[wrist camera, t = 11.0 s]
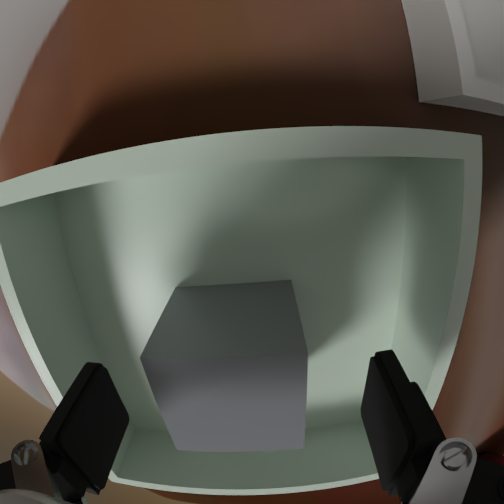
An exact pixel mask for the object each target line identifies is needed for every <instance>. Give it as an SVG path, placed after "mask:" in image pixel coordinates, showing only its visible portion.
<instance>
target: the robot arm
mask: <svg viewBox="0 0 504 504" xmlns="http://www.w3.org/2000/svg"><path fill="white" fill-rule="evenodd" d="M361 417H362V421H363V424H364V427H365V431H366V434H367V437H368V441H369V444H370V447H371V451H372V454H373V458H374V461H375V465H376V468H377V472H378V476H379V479H380V483H381V487H382V489H383V490H384V491H385V490H388V494H389V497H390V496H393V495H397V494H398V496H399V499H400V501H402V503H401V504H504V466H503V465H499V464H496V463H493V462H489V461H486V460H483V459H480V458H477V454H476V449H475V448H474V446H473V445H472V444H471V443H470V442H469V441H467V440H465V439H462V438H449V439H447V440H446V438H445V435H444V433H443V431H442V429H441V427H440V425H439V423H438V421H437V419H436V417H435V415H434V413H433V411H432V410H431V408H430V406H429V404H428V402H427V400H426V398H425V396H424V394H423V392H422V390H421V389H420V387H419V385H418V384H417V383H416V382H410V381H409V379H408V377H407V375H406V373H405V371H404V369H403V367H402V366H401V364H400V362H399V360H398V358H397V356H396V355H395V353H394V351H393V350H392V349H390V350H385V351H379V352H376V353H375V356H373V357H371V358H370V361H369V367H368V373H367V378H366V384H365V389H364V394H363V399H362V404H361ZM128 424H129V414H128V412H127V410H126V408H125V406H124V404H123V402H122V400H121V398H120V396H119V394H118V392H117V390H116V387H115V385H114V383H113V381H112V379H111V377H110V374H109V372H108V370H107V368H106V367H104V366H103V365H102V364H101V363H94V362H87V363H85V365H84V366H83V368H82V369H81V371H80V372H79V374H78V375H77V377H76V378H75V380H74V381H73V383H72V385H71V386H70V388H69V389H68V391H67V392H66V394H65V396H64V397H63V399H62V400H61V402H60V404H59V405H58V407H57V409H56V410H55V412H54V413H53V415H52V417H51V418H50V420H49V422H48V423H47V425H46V427H45V428H44V430H43V432H42V434H41V435H40V438H39V439H40V440H41V442H40V443H38V442H36V441H34V440H23V441H21V442H19V443H18V444H17V445H16V446H15V447H14V448H13V450H12V453H11V460H9V461H7V462H4V463H1V464H0V504H87V501H86V499H85V497H84V494H85V491H87V492H89V493H93V494H97V495H99V492H100V490H101V489H103V488H104V487H105V485H106V482H107V479H108V477H109V474H110V471H111V468H112V466H113V463H114V460H115V458H116V455H117V452H118V450H119V447H120V444H121V442H122V439H123V437H124V434H125V432H126V429H127V426H128Z"/></svg>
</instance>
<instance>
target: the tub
mask: <svg viewBox="0 0 504 504" xmlns="http://www.w3.org/2000/svg"><path fill="white" fill-rule="evenodd" d="M401 1H402V5H403V9H404V13H405V18H406V22H407V27H408V32H409V37H410V42H411V48H412V53H413V60H414V66H415V73H416V81H417V89H418V98H419V102H422V103H430V104H438V105H445V106H452V107H458V108H464V109H470V110H475V111H480V112H485V113H490V114H495V115H499V116H503V117H504V0H401Z"/></svg>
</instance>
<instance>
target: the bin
mask: <svg viewBox="0 0 504 504" xmlns="http://www.w3.org/2000/svg"><path fill="white" fill-rule="evenodd" d="M481 195H482V135H475V134H467V133H459V132H450V131H441V130H430V129H417V128H401V127H377V126H314V127H290V128H273V129H259V130H247V131H237V132H227V133H218V134H210V135H202V136H195V137H188V138H181V139H175V140H168V141H162V142H156V143H151V144H145V145H140V146H135V147H130V148H125V149H120V150H115V151H111V152H106V153H102V154H98V155H93V156H89V157H85V158H81V159H77V160H73V161H70V162H66V163H62V164H59V165H55V166H52V167H48V168H45V169H41V170H38V171H35V172H32V173H28V174H25V175H22V176H19V177H16V178H13V179H10V180H7V181H4V182H2V183H0V285H1V288H2V290H3V293H4V296H5V299H6V302H7V304H8V307H9V310H10V312H11V315H12V317H13V320H14V322H15V325H16V327H17V329H18V332H19V334H20V336H21V339H22V341H23V343H24V345H25V347H26V349H27V352H28V354H29V356H30V358H31V360H32V362H33V364H34V366H35V368H36V370H37V372H38V373H39V375H40V377H41V379H42V381H43V383H44V385H45V386H46V388H47V390H48V392H49V393H50V395H51V397H52V399H53V400H54V402H55V404H56V405H57V407H58V405H59V404H60V402H61V400H62V399H63V397H64V396H65V394H66V392H67V391H68V389H69V388H70V386H71V385H72V383H73V381H74V380H75V378H76V377H77V375H78V374H79V372H80V371H81V369H82V368H83V366H84V365H85V363H87V362H94V363H101V364H102V365H103V366H104V367H106V368H107V370H108V372H109V374H110V377H111V379H112V381H113V383H114V385H115V387H116V390H117V392H118V394H119V396H120V398H121V400H122V402H123V404H124V406H125V408H126V410H127V412H128V414H129V424H128V426H127V429H126V432H125V434H124V437H123V439H122V442H121V444H120V447H119V450H118V452H117V455H116V458H115V460H114V463H113V466H112V468H111V471H110V474H109V477H108V478H109V479H110V480H111V481H112V482H117V483H122V484H127V485H132V486H138V487H144V488H150V489H157V490H165V491H174V492H183V493H196V494H213V495H264V494H282V493H294V492H304V491H312V490H320V489H327V488H334V487H340V486H346V485H351V484H356V483H361V482H366V481H370V480H375V479H379V476H378V472H377V468H376V465H375V461H374V458H373V454H372V451H371V447H370V444H369V441H368V437H367V434H366V431H365V427H364V424H363V421H362V417H361V404H362V399H363V394H364V389H365V384H366V378H367V373H368V367H369V361H370V358H371V357H373V356H375V353H376V352H379V351H385V350H390V349H392V350H393V351H394V353H395V355H396V356H397V358H398V360H399V362H400V364H401V366H402V367H403V369H404V371H405V373H406V375H407V377H408V379H409V381H410V382H416V383H417V384H418V385H419V387H420V389H421V390H422V392H423V394H424V396H425V398H426V400H427V402H428V404H429V406H430V408H431V410H433V408H434V405H435V403H436V400H437V398H438V395H439V393H440V390H441V387H442V385H443V382H444V379H445V376H446V374H447V371H448V368H449V365H450V362H451V359H452V355H453V352H454V349H455V346H456V342H457V339H458V335H459V332H460V328H461V324H462V320H463V316H464V312H465V308H466V303H467V299H468V294H469V289H470V284H471V279H472V273H473V268H474V262H475V255H476V248H477V240H478V232H479V222H480V210H481ZM279 280H291V281H292V285H293V290H294V294H295V298H296V302H297V306H298V311H299V315H300V319H301V324H302V328H303V332H304V337H305V341H306V345H307V350H308V372H307V402H306V424H305V442H304V448H302V449H291V450H278V451H261V452H198V451H181V450H177V449H176V447H175V445H174V442H173V440H172V438H171V436H170V434H169V431H168V429H167V427H166V424H165V422H164V420H163V417H162V415H161V413H160V410H159V408H158V405H157V403H156V400H155V398H154V395H153V393H152V390H151V387H150V385H149V382H148V379H147V377H146V374H145V371H144V368H143V366H142V363H141V360H140V356H141V354H142V352H143V350H144V348H145V346H146V344H147V342H148V340H149V338H150V336H151V334H152V332H153V330H154V328H155V326H156V324H157V322H158V320H159V318H160V316H161V314H162V312H163V310H164V308H165V306H166V304H167V302H168V301H169V299H170V297H171V295H172V293H173V291H174V289H175V287H187V286H205V285H221V284H237V283H251V282H265V281H279Z"/></svg>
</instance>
